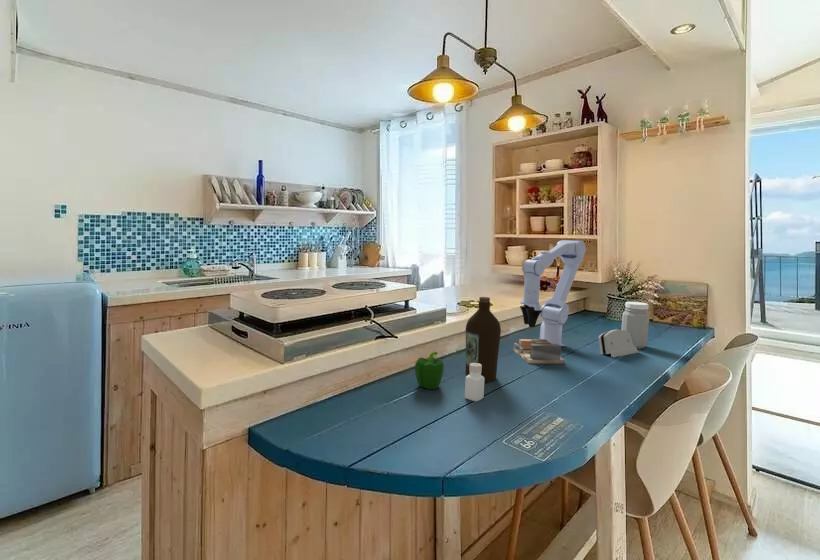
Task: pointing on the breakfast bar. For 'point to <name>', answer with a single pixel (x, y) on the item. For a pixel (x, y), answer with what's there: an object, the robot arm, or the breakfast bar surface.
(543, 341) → the block
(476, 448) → the breakfast bar surface
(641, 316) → the jar
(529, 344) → the block
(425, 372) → the bell pepper
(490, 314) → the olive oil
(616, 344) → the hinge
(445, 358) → the breakfast bar surface
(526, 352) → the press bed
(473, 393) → the white pill bottle
